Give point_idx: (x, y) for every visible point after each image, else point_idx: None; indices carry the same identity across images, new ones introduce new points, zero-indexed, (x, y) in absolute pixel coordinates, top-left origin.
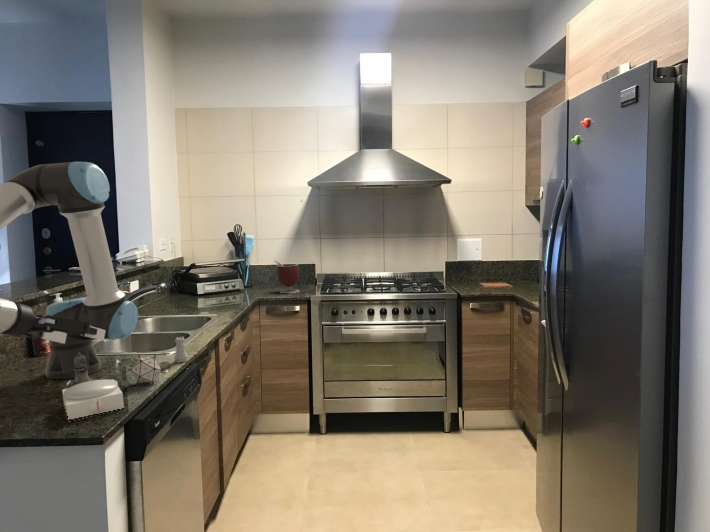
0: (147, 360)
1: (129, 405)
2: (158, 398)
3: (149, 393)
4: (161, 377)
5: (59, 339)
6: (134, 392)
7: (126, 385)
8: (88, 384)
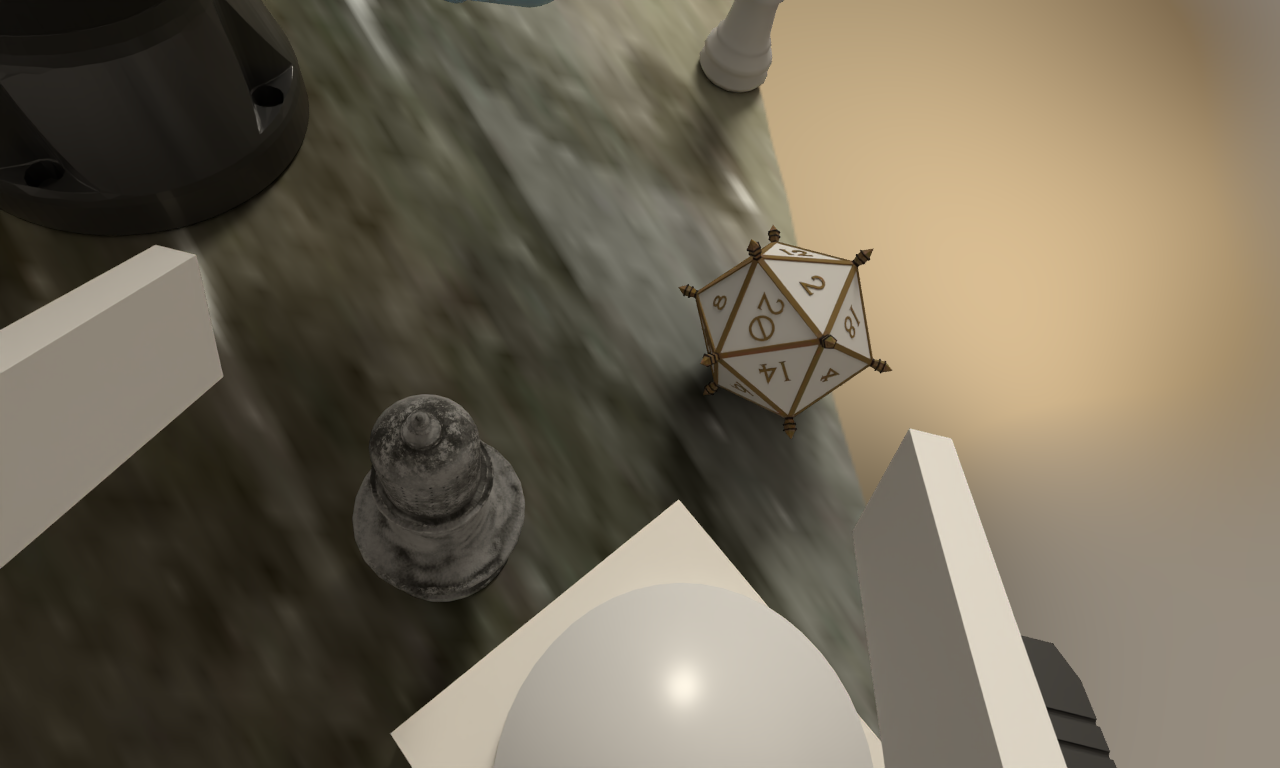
0: (841, 314)
1: None
2: None
3: None
4: None
5: (147, 403)
6: (771, 518)
7: (645, 391)
8: (619, 705)
